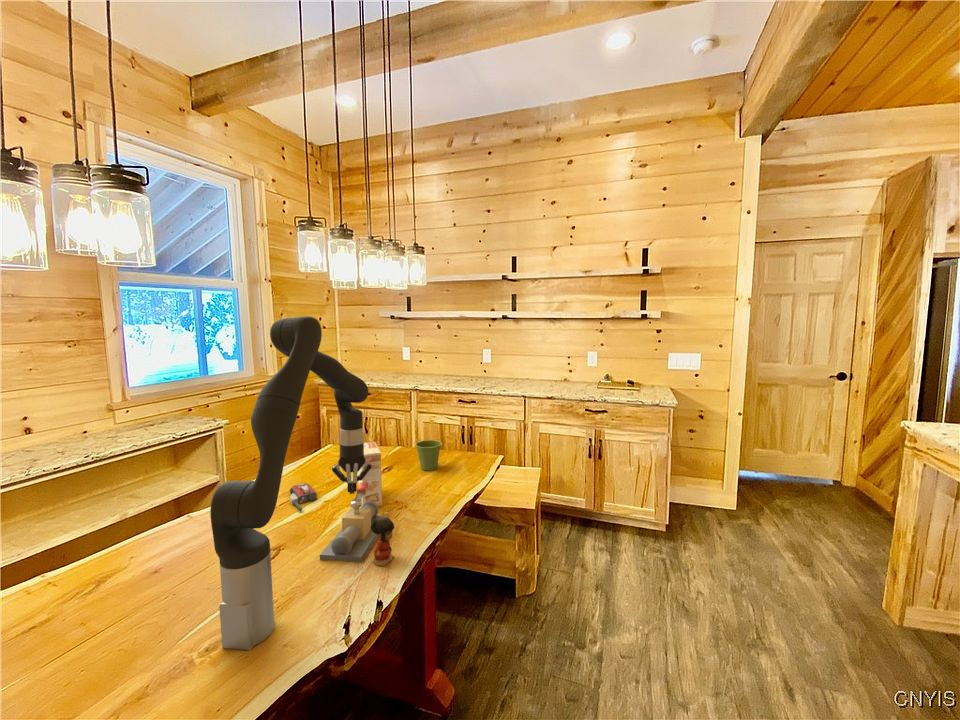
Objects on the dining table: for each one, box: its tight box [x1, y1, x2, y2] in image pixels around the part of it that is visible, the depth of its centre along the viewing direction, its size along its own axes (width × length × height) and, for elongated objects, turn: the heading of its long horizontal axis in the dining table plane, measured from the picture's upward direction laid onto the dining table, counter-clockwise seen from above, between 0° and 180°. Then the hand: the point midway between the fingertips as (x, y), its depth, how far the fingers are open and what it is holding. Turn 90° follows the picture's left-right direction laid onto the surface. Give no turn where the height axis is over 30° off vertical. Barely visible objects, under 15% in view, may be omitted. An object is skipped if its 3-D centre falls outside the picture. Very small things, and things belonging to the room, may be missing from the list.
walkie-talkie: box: [289, 482, 318, 511], centre depth 153 cm, size 9×4×20 cm
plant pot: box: [414, 439, 443, 471], centre depth 184 cm, size 12×12×11 cm
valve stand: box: [319, 501, 390, 563], centre depth 126 cm, size 24×12×10 cm, turn 175°
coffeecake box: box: [357, 441, 383, 507], centre depth 153 cm, size 15×7×20 cm, turn 22°
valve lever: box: [350, 482, 368, 508], centre depth 131 cm, size 16×3×2 cm, turn 6°
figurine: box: [371, 517, 395, 567], centre depth 114 cm, size 6×6×12 cm
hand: (352, 492), depth 136 cm, fingers closed
